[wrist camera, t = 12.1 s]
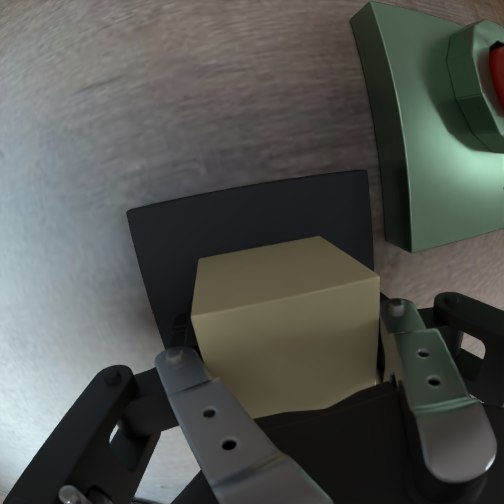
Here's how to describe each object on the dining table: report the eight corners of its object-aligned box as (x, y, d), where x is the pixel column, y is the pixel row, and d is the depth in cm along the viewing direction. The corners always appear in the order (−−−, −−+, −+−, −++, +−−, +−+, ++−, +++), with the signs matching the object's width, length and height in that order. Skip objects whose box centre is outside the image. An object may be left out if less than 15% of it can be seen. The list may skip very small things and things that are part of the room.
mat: (360, 169, 12) (367, 169, 12) (367, 357, 15) (371, 363, 15) (129, 209, 12) (125, 211, 11) (187, 398, 14) (186, 405, 14)
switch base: (509, 61, 11) (548, 54, 8) (528, 209, 14) (568, 219, 11) (349, 19, 10) (390, -18, 7) (385, 241, 13) (437, 266, 10)
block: (319, 235, 12) (381, 275, 8) (327, 337, 14) (372, 406, 9) (198, 258, 12) (189, 316, 7) (223, 360, 13) (230, 442, 9)
